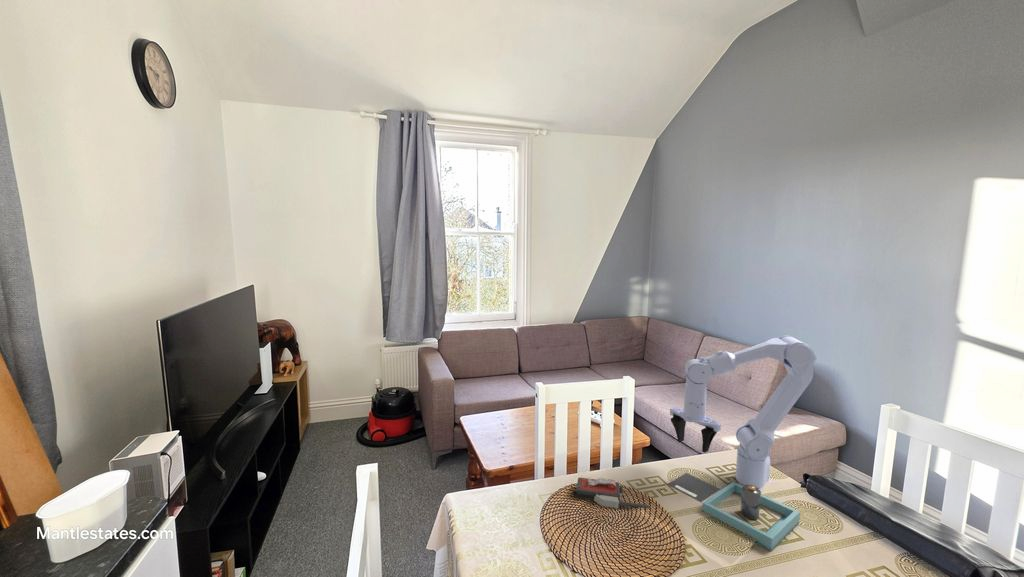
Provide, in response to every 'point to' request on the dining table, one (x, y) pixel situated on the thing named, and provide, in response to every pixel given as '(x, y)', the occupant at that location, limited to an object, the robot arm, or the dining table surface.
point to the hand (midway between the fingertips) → (692, 446)
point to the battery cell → (750, 502)
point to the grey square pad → (693, 487)
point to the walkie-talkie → (603, 493)
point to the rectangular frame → (763, 538)
